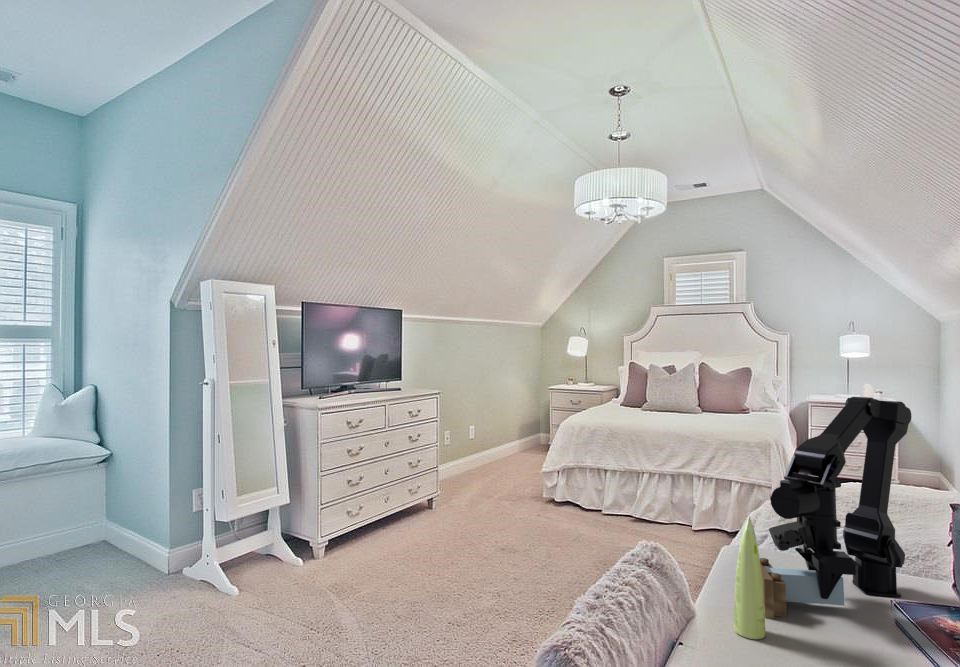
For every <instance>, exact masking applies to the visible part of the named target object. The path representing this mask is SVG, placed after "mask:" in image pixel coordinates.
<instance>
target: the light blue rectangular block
mask: <svg viewBox="0 0 960 667" xmlns="http://www.w3.org/2000/svg"><path fill="white" fill-rule="evenodd" d="M763 567H764V568H765V570H766V571H767V572H768V574H769V575H770V576H771V573H778V574H780V575H781V578H782V580H783V581H784V582H785V584H786V602H790V603H791V602H792V603H805V604H806V603H807V604H818V605H833V606H835V605H836V606H846V605H845V587H844V577H842V576H841V578H840V579H839V581H838V582H837V584H836V586H835V587H834V589H833V591H832V593H831V594H830V596H829V598H828V599H822V598H821V596H820V591H819V586H818V581H817V576H816V571H814V570H808V569H797V568H781V567H780V568H779V567H773V568H769V567H767V566H763Z"/></svg>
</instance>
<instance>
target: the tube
mask: <svg viewBox="0 0 960 667" xmlns="http://www.w3.org/2000/svg"><path fill="white" fill-rule="evenodd" d="M757 541H758V540H757V536H756V532H755V528H754V524H753V521H752V518H751V514H750V513H748V519H747V521H746V523H745V526H744V529H743V532H742V536H741V539H740V544H739V549H738V555H737V562H736V570H735V580H734V581H735V582H734V583H735V584H734V604H733V605H734V606H733V607H734V608H733V609H734V610H733V611H734V612H733V630H734V632H735V633H736V634H737V635H739V636H740V637H743V638H746V639H751V640H760V639H764V638H765V637H766V618H765V612H764V596H763V582H762V573H761V565H760V558H761V557H760V553H759V547H758V542H757Z"/></svg>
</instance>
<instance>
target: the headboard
mask: <svg viewBox="0 0 960 667" xmlns="http://www.w3.org/2000/svg"><path fill="white" fill-rule="evenodd" d="M759 558H760V565H761V573H762V582H763V596H764V612H765V619H769V620H770V619H771V620H772V619H773V620H774V619H775V617H783V618H786V617H787V601H786V584H785V582H784V581H783V580H782V578H781V575H780V574H778V573H771V576H770V575H769V574H768V572H767V571H766V570H765V568H764V567H763V566H767V567H769V568H774V567H773V566H772V564H771V563H770V562H769V561H770V560H769V559H768V558H766V557H759Z"/></svg>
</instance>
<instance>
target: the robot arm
mask: <svg viewBox="0 0 960 667" xmlns="http://www.w3.org/2000/svg"><path fill="white" fill-rule="evenodd" d="M911 421H912V411H911V409H910V408H909V407H908V406H907V405H906V404H905V403H904V402H903V401H897V400H895V401H894V400H882V399H876V398H873V397H869V396H868V397H867V396H865V397H864V396H851V397H848V398H846V401H845V404H844V407H843V408H842V409H841V410H840V411H839V412H838V413H837V415H836V416H835V417H834V418H833V419H832V420H831V422H830V423H829V424H828V426H827V427H825V429H824V430H823V431H822V432H821V433H820V434H819V435H817V436H814V437H811V438H808V439H806V440H804V441H803V442H802V443H801V444H799V446H797V448H796V449H795V451H794V453H793V455H792V457H791V460H790V461H789V464H788V467H787V468H786V469H787V470H786V471H785V473H784V477H783V479H782V480H780V481H779V487H776V488H775V489H774V490H773V492H772V493H771V495H770V499H769V500H770V505H771V507H772V509H773V511H774V512H775V513H776V515H778V516H779V517H781V518H782V519H785V520H793V519H796V521H793V522H792V521H791V522H787V523H784V524H779V525H776V526H773V527H770V528H769V529H768V531H769V534H770V536H771V539H772V542H773V544H774V546H775V547H776V548H777V549H778V551H781V552H782V551H783V552H784V551H788V550H789V549H792V548H794V549H795V551H796V552H797V553H798V554H799V556H801V557H802V558H803V559H804V561H805V564H806V567H807V570H814V571H816V576H817V581H818V586H819V591H820V596H821V598H822V599H828V598H829V596H830V594H831V593H832V591H833V589H834V587H835V586H836V584H837V582H838V581H839V579H840V578H841V577H842V576H843V575H848V576H852V580H851V582H852V583H853V584H854V585H855V586H856V587H857V589H859V590H860V591H861V592H862V593H863V594H865V595H870V596H880V597H882V596H883V597H891V598H892V597H893V598H902V594H901V593H900V592H899V591H898V588H897V584H898V583H897V582H898V580H897V568H903V565H904V564H905V560H906V559H905V558H906V553H905V552H904V550H903V548H902V547H901V546H900V543H899V542H898V541H897V539H896V528H895V526H894V525H893V522H892V520H891V519H890V517H889V515H888V510H889V509H888V508H889V501H890V492H891V485H892V476H893V469H894V462H895V461H894V460H895V454H896V446H897V444H898V443H899V442H900V441H901V440H902V438H904V437H905V436H906V435H907V433H908V429H909V425H910V423H911ZM862 431H863V433H864V436H865V437H866V447H865V453H864V454H865V455H864V456H865V457H864V462H863V470H862V477H861V479H862V480H861V486H860V494H859V501H858V507H856V508H855V510H853V512H847V514H846V515H845V522H844V523H845V524H844V527H843V530H842V532H843V533H842V537H843V538H842V539H843V541H844V546H845V551H846V552H844V551H841V550H842V543H841V542H839V541H838V534H837V533H838V532H837V531H838V529H837V528H841V527H842V525H841V521H840V520H839V519H838V518H837V496H836V495H837V494H836V493H837V492H836V491H837V490H836V489H839V488H841V487H842V483H840V481H838V479H837V478H838V476H840V474H841V473H842V471H843V468H844V466H845V465H846V463H847V462H846V457H845V453H846V451H847V449H848V448H849V447H850V446H851V445H852V443H853V442H854V440H855V439H856V438H857V437H858V436H859V434H860V433H861V432H862ZM839 550H840V551H839ZM851 556H852V557H854V558H852V557H851Z"/></svg>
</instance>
